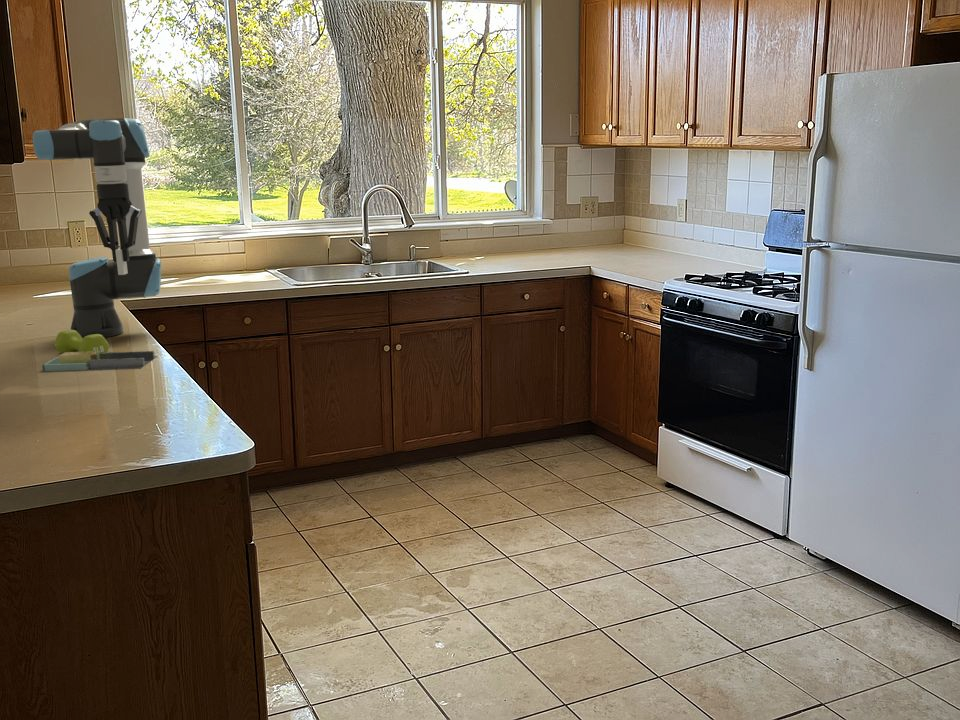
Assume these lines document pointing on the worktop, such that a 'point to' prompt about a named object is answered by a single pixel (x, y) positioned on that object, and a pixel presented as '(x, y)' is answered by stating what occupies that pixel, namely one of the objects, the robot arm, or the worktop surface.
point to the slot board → (121, 360)
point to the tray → (64, 365)
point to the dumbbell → (80, 342)
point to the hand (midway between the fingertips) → (123, 273)
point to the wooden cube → (85, 357)
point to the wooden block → (67, 358)
